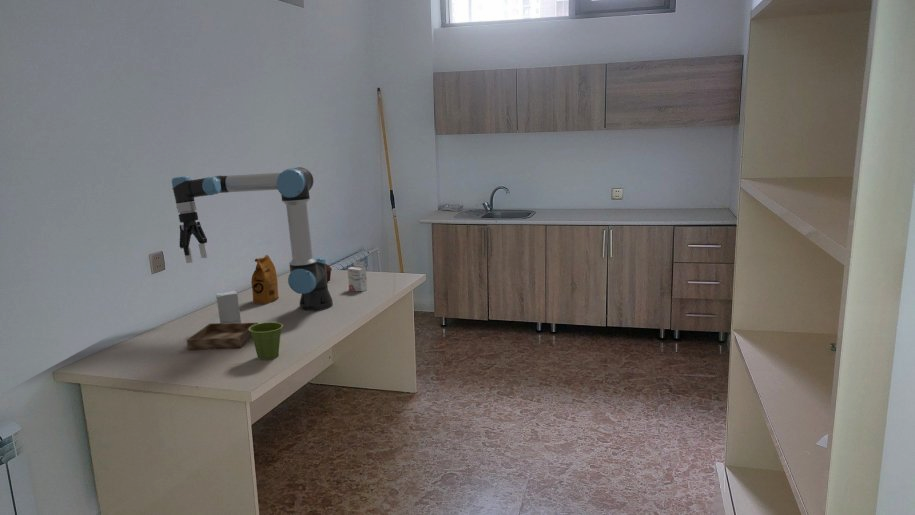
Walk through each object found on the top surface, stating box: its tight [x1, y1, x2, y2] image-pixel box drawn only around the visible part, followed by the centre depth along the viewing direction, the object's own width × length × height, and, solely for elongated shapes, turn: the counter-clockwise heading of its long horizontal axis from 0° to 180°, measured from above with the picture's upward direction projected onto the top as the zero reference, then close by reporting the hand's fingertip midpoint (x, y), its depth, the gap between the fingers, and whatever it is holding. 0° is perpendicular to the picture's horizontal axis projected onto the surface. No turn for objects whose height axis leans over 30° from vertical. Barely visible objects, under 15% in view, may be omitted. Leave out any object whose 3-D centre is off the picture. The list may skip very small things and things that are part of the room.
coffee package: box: [251, 254, 279, 305], centre depth 294 cm, size 10×12×22 cm
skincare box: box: [215, 290, 242, 323], centre depth 255 cm, size 8×6×15 cm
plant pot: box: [248, 321, 284, 361], centre depth 218 cm, size 12×12×11 cm
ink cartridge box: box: [347, 260, 368, 292], centre depth 310 cm, size 9×5×15 cm, turn 58°
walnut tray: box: [186, 322, 259, 351], centre depth 238 cm, size 20×20×4 cm
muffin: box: [326, 263, 332, 283], centre depth 332 cm, size 12×11×10 cm
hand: (197, 260), depth 266 cm, fingers open, 13 cm apart
